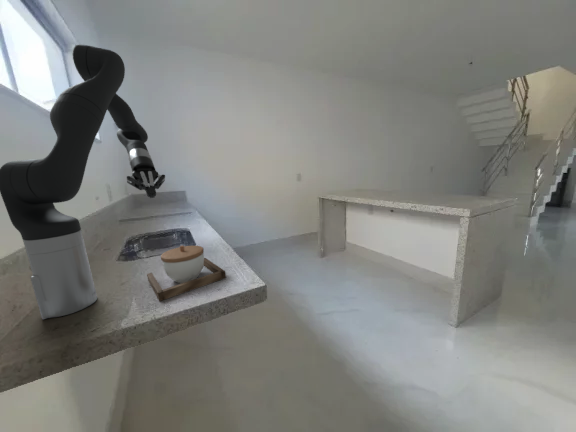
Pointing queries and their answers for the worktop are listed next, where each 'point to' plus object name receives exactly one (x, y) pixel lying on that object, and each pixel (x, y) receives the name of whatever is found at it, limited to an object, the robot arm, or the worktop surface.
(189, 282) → the walnut bay
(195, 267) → the lidded jar
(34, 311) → the worktop surface
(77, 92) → the robot arm
